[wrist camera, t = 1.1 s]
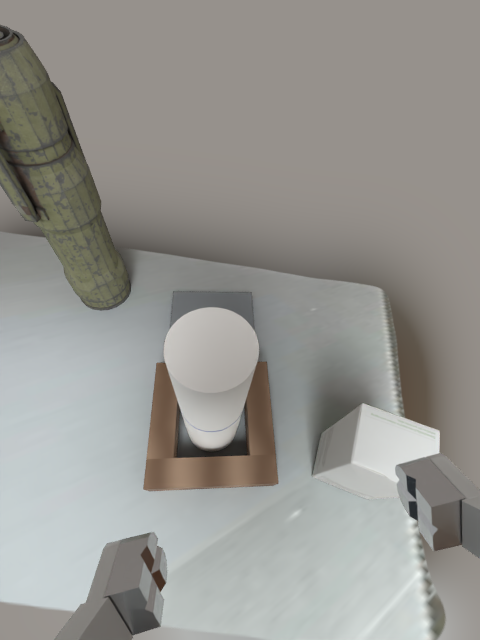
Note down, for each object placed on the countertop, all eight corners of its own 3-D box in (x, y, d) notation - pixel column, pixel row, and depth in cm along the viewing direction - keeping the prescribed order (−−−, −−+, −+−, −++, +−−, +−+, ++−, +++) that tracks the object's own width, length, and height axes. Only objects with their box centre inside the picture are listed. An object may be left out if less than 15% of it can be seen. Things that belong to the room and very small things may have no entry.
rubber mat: (168, 355, 50) (167, 352, 49) (173, 294, 56) (173, 291, 55) (255, 354, 51) (256, 352, 50) (250, 295, 57) (251, 292, 56)
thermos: (140, 268, 58) (64, 17, 29) (120, 321, 52) (-3, 70, 22) (93, 261, 58) (-30, 4, 29) (67, 313, 52) (-124, 53, 22)
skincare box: (375, 454, 44) (445, 429, 31) (369, 504, 41) (444, 501, 27) (318, 431, 45) (362, 398, 32) (307, 478, 42) (351, 463, 28)
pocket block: (149, 491, 40) (143, 489, 36) (160, 373, 48) (156, 362, 45) (272, 485, 41) (278, 483, 38) (262, 371, 49) (266, 361, 46)
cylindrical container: (176, 429, 44) (142, 352, 23) (209, 391, 47) (207, 292, 26) (215, 463, 42) (217, 414, 21) (247, 421, 45) (277, 341, 24)
